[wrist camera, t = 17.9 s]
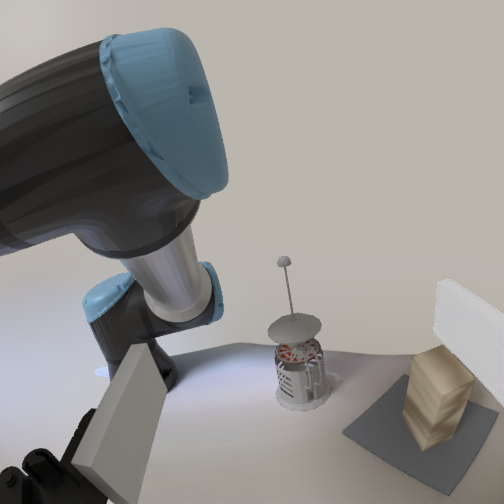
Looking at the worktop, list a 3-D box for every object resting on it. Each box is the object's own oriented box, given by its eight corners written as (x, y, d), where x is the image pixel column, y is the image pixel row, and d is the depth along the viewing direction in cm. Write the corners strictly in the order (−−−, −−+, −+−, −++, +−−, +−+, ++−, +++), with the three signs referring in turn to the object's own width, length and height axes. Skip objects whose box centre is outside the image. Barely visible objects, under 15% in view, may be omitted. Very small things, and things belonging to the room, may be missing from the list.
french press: (317, 367, 52) (301, 240, 45) (346, 403, 41) (339, 259, 34) (268, 384, 50) (240, 256, 43) (290, 426, 39) (262, 282, 32)
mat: (342, 432, 35) (342, 431, 35) (404, 375, 43) (404, 373, 43) (448, 495, 19) (449, 494, 18) (497, 414, 26) (498, 412, 26)
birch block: (422, 452, 27) (442, 395, 23) (401, 414, 35) (411, 355, 31) (451, 437, 27) (475, 378, 23) (428, 403, 34) (441, 343, 31)
